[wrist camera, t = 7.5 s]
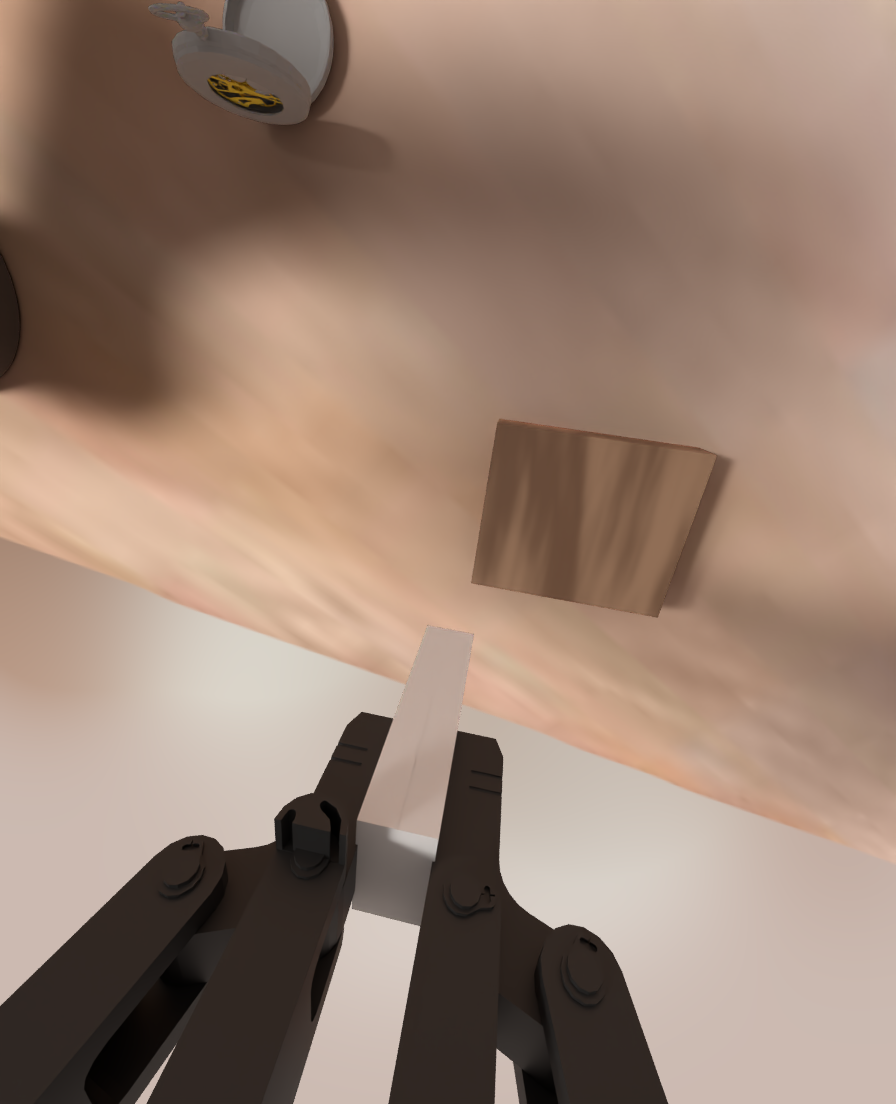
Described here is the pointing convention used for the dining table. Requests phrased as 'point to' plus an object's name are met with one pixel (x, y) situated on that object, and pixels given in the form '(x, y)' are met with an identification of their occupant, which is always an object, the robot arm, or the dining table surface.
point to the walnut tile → (587, 515)
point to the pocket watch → (255, 56)
